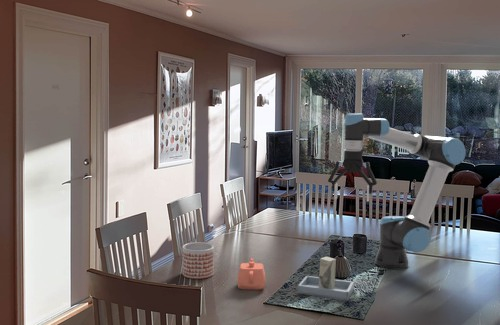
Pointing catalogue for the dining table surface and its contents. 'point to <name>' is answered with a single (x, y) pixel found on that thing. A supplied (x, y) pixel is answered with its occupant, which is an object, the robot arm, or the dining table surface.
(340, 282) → the bin
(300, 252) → the dining table surface
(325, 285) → the box
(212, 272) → the planter
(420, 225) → the robot arm
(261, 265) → the teapot
